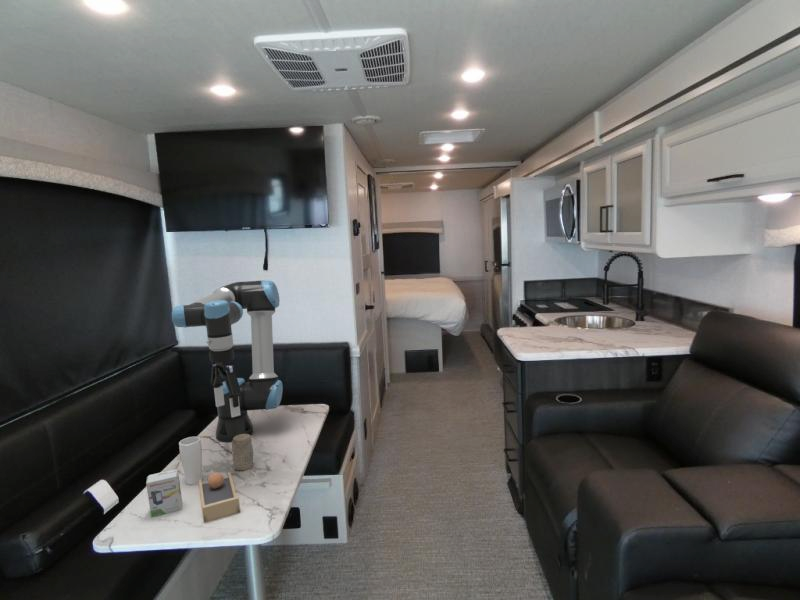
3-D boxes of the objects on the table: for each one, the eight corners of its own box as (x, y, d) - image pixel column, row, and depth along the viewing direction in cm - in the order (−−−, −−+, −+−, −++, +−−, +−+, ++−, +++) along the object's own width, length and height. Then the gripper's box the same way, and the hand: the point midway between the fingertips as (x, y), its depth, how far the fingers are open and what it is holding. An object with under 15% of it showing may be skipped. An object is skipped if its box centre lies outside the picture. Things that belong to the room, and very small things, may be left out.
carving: (258, 464, 170) (255, 433, 169) (243, 474, 164) (240, 442, 162) (245, 462, 173) (242, 431, 171) (230, 471, 166) (226, 439, 165)
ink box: (182, 503, 147) (178, 468, 146) (182, 511, 143) (177, 475, 141) (152, 510, 144) (147, 474, 142) (150, 519, 139) (145, 482, 138)
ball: (207, 486, 156) (206, 472, 155) (223, 482, 158) (222, 468, 157) (208, 493, 151) (207, 478, 151) (225, 488, 153) (223, 474, 153)
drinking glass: (209, 478, 162) (204, 437, 160) (195, 488, 156) (190, 446, 154) (193, 476, 164) (189, 435, 162) (179, 486, 158) (173, 443, 156)
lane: (199, 486, 157) (197, 472, 156) (230, 478, 161) (229, 464, 161) (204, 524, 136) (202, 508, 135) (240, 513, 140) (238, 498, 139)
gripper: (196, 345, 159) (203, 404, 162) (224, 357, 141) (231, 424, 144) (218, 340, 164) (224, 399, 167) (248, 352, 146) (254, 417, 149)
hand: (227, 410), depth 156 cm, fingers open, 13 cm apart
